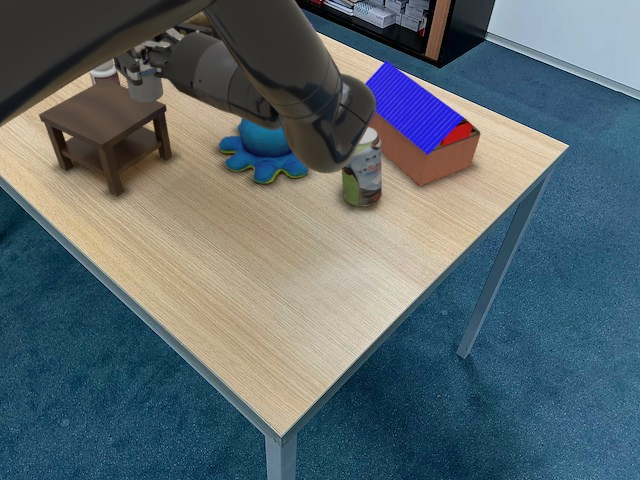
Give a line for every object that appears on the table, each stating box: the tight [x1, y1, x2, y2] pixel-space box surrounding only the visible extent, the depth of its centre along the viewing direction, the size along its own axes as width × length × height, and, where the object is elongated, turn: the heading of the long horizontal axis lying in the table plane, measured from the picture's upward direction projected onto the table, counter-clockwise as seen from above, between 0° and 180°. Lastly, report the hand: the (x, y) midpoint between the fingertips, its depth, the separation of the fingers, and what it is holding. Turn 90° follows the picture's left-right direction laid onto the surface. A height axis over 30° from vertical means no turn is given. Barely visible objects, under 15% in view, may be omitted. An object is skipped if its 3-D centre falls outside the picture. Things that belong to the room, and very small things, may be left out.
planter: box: [125, 38, 164, 102], centre depth 72 cm, size 4×4×10 cm
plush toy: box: [218, 118, 309, 184], centre depth 91 cm, size 17×17×8 cm
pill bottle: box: [88, 59, 121, 86], centre depth 99 cm, size 5×5×8 cm
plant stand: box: [38, 79, 173, 197], centre depth 86 cm, size 13×13×10 cm
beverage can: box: [341, 127, 383, 207], centre depth 83 cm, size 6×7×12 cm
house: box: [364, 60, 482, 187], centre depth 93 cm, size 12×20×12 cm, turn 32°
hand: (121, 33), depth 71 cm, fingers closed on planter, 4 cm apart
